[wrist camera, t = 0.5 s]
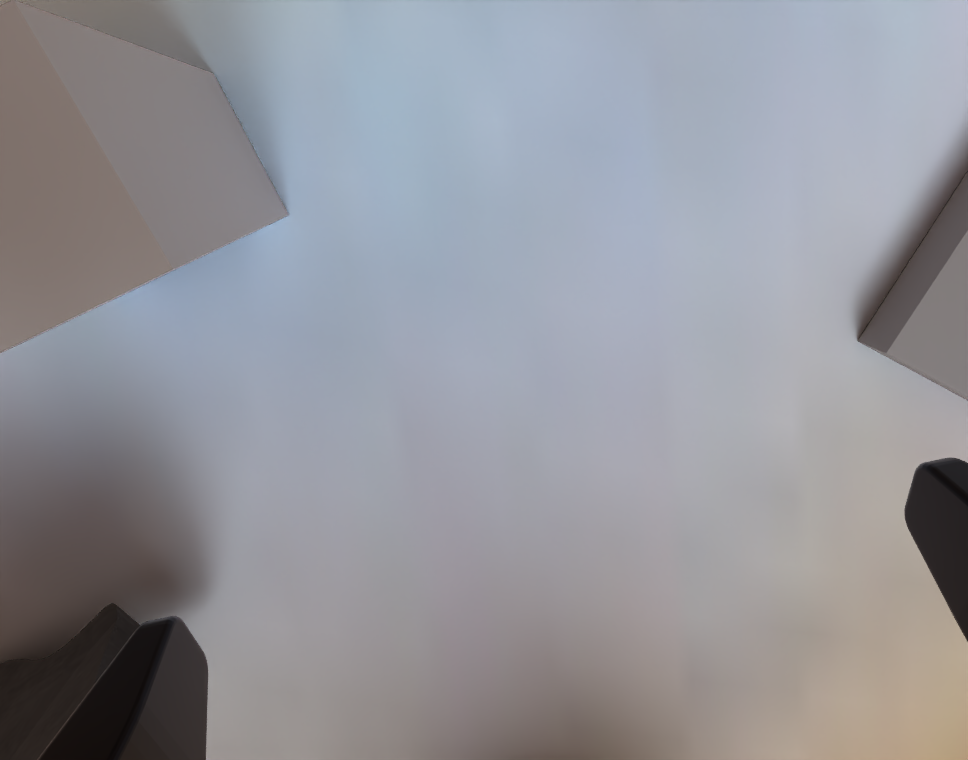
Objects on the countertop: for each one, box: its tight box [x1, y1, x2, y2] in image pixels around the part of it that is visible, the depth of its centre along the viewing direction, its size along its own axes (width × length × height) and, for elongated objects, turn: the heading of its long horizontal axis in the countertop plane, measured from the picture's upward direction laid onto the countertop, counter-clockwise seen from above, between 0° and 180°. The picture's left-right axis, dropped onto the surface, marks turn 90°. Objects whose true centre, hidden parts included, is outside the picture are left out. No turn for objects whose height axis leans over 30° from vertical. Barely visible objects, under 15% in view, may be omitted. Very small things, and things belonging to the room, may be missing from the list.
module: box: [0, 0, 289, 353], centre depth 15 cm, size 4×6×10 cm
